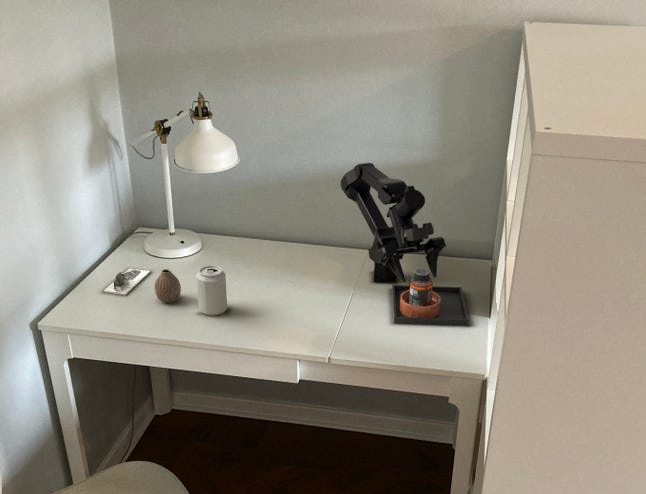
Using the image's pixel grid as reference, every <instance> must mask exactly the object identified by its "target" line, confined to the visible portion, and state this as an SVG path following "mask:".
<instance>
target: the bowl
mask: <svg viewBox="0 0 646 494" xmlns="http://www.w3.org/2000/svg"><path fill="white" fill-rule="evenodd" d="M409 298H410V290H407V291H405V292H403V293H402V294H401V296H400V311H401V313H402V314H403V315H405V316H407V317H416V318H434V317H436V316H437V315H438V314H439V312H440V305H441V297H440V296H439V295H438V294H437V293H435V292H433V291H432V301H431V306H426V307H419V306H413V305H410V304H409Z"/></svg>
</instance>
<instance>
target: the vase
mask: <svg viewBox="0 0 646 494" xmlns="http://www.w3.org/2000/svg"><path fill="white" fill-rule="evenodd" d="M181 285H182V284H181V283H180V280H179V278H178V277H177V276H176V275H175V274H174V273H173V272H172V270H170V268H165V269H162V270H161V272H160V274H159V275H158V277H157V278H156V280H155V282H154V294H155V296H156V297H157V299H158V300H159V301H160V302H161V303H163V304H173V303H175V302H177V301H178V300H179V298H180V296H181V293H182V292H181V291H182V286H181Z"/></svg>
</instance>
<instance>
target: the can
mask: <svg viewBox="0 0 646 494" xmlns="http://www.w3.org/2000/svg"><path fill="white" fill-rule="evenodd" d="M226 278H227V277H226V273H225V272H224V270H223V267H221V266H219V265H216V264H215V265H214V264H209V265H203V266H202V267H199V269H198V273H197V274H196V289H197V297H198V298H197V300H198V309H199V312H201V313H203V315H206V316H211V317H212V316H213V317H214V316H219V315H222V314H223V313H224V312H226V311H227V309H228V297H227V295H228V293H227V279H226Z"/></svg>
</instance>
